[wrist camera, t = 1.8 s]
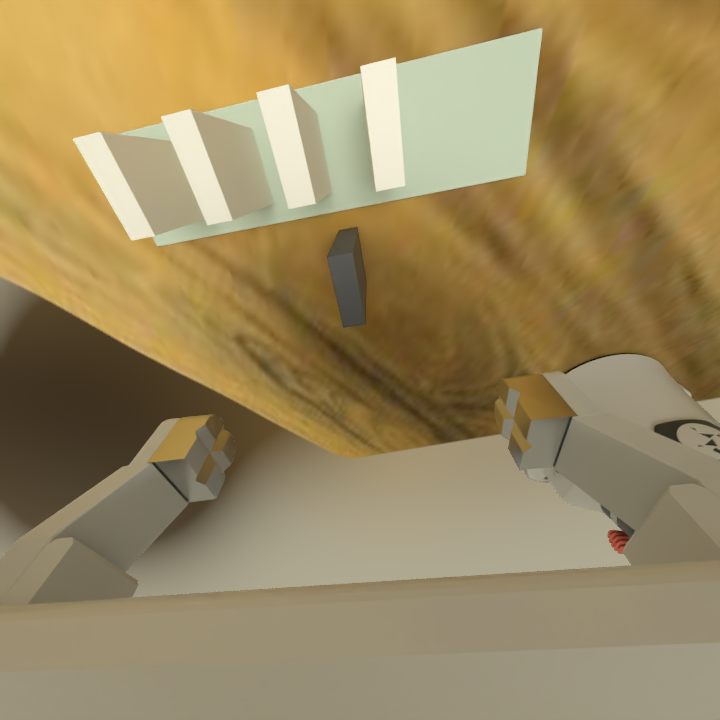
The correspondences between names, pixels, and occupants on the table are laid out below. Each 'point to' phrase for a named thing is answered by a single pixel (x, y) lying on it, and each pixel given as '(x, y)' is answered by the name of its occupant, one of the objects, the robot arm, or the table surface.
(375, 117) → the domino
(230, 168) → the domino
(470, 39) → the table surface
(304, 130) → the domino
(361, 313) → the black domino
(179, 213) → the domino
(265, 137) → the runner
